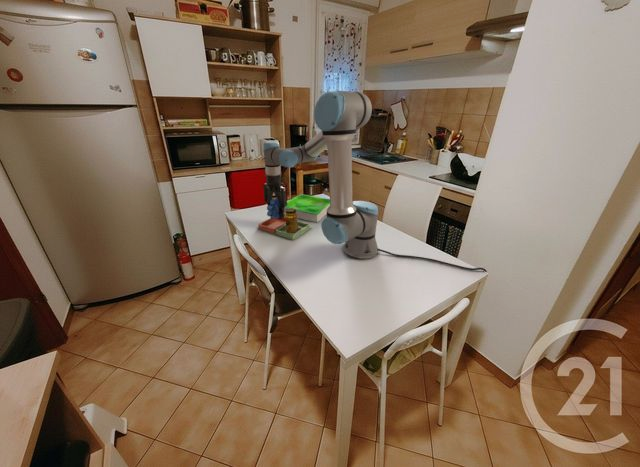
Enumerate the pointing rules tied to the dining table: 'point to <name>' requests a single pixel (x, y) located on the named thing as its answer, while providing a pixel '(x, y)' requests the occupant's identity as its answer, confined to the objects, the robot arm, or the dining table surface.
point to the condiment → (291, 221)
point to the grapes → (273, 209)
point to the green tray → (292, 236)
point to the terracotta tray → (272, 224)
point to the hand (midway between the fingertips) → (276, 216)
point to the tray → (309, 207)
